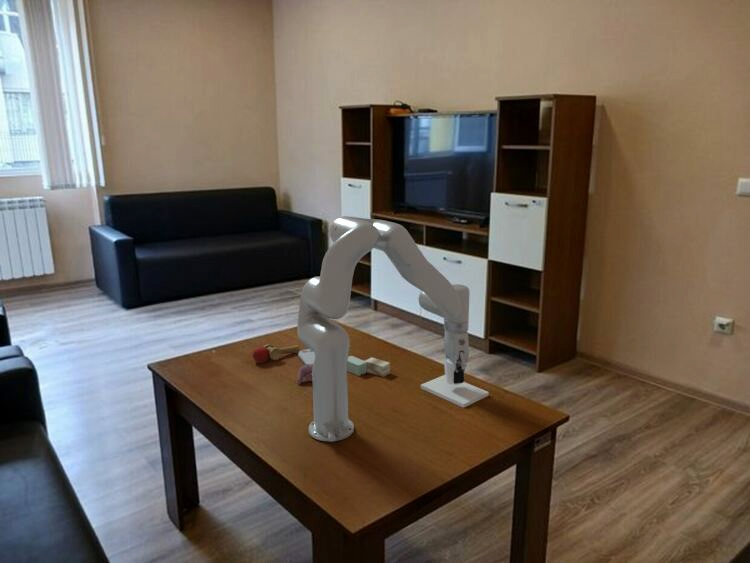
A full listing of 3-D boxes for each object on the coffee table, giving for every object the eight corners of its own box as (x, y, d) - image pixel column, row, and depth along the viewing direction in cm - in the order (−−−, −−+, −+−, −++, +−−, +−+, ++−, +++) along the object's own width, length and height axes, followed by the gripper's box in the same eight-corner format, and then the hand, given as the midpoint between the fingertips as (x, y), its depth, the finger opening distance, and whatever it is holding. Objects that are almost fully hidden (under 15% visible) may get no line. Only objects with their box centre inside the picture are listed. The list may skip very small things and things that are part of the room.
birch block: (390, 373, 202) (390, 362, 201) (383, 377, 199) (382, 366, 197) (371, 367, 206) (371, 357, 205) (364, 371, 203) (364, 360, 202)
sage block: (367, 372, 202) (366, 362, 201) (358, 376, 200) (358, 365, 199) (351, 366, 208) (351, 355, 207) (343, 369, 205) (342, 358, 204)
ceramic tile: (488, 395, 185) (488, 392, 184) (463, 407, 177) (463, 404, 177) (445, 377, 198) (445, 374, 197) (420, 388, 190) (420, 384, 190)
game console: (333, 363, 204) (310, 367, 201) (333, 370, 205) (310, 374, 202) (317, 346, 220) (295, 349, 217) (317, 352, 221) (296, 355, 218)
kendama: (290, 352, 224) (247, 357, 213) (293, 337, 222) (250, 342, 211) (300, 362, 218) (257, 368, 207) (303, 346, 216) (259, 352, 205)
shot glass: (448, 386, 182) (449, 366, 180) (440, 377, 189) (440, 357, 187) (469, 384, 184) (469, 363, 182) (460, 375, 190) (460, 355, 189)
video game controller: (328, 385, 196) (329, 364, 197) (326, 385, 192) (327, 363, 193) (299, 384, 197) (300, 363, 198) (296, 384, 192) (297, 362, 194)
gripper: (478, 333, 174) (476, 388, 179) (457, 314, 190) (455, 366, 195) (455, 335, 172) (453, 391, 177) (435, 316, 189) (434, 368, 193)
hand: (454, 377), depth 186 cm, fingers closed on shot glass, 6 cm apart
